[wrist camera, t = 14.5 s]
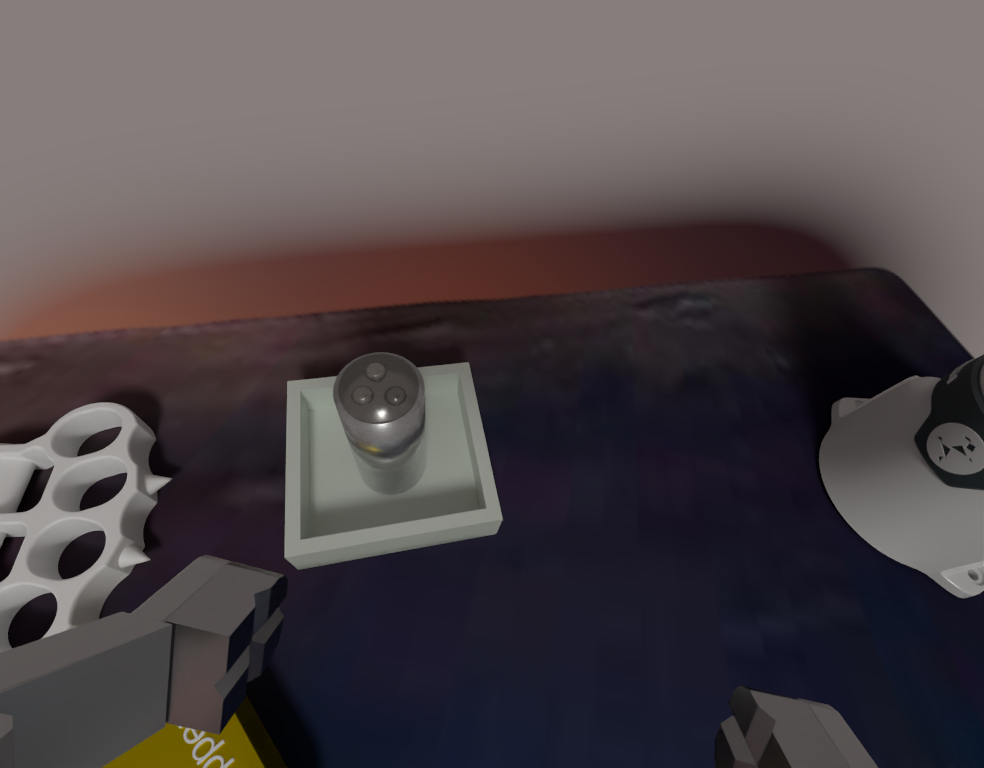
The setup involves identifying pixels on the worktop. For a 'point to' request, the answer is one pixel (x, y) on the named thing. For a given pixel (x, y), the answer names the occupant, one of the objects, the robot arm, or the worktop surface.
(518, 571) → the worktop surface
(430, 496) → the sage bin
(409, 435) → the gray flashlight
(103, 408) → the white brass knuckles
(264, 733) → the element tile
